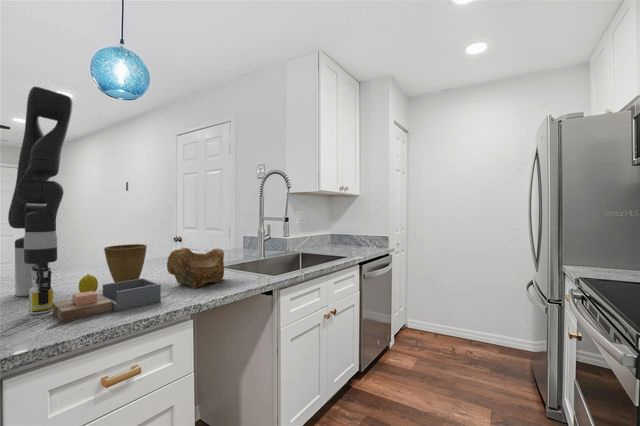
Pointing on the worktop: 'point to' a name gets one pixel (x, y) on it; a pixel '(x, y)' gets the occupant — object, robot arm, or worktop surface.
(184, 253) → the rough brown rock
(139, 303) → the box
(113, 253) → the plant pot
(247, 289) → the worktop surface
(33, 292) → the supplement bottle
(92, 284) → the lemon
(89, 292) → the block
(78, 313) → the brown wavy slab
